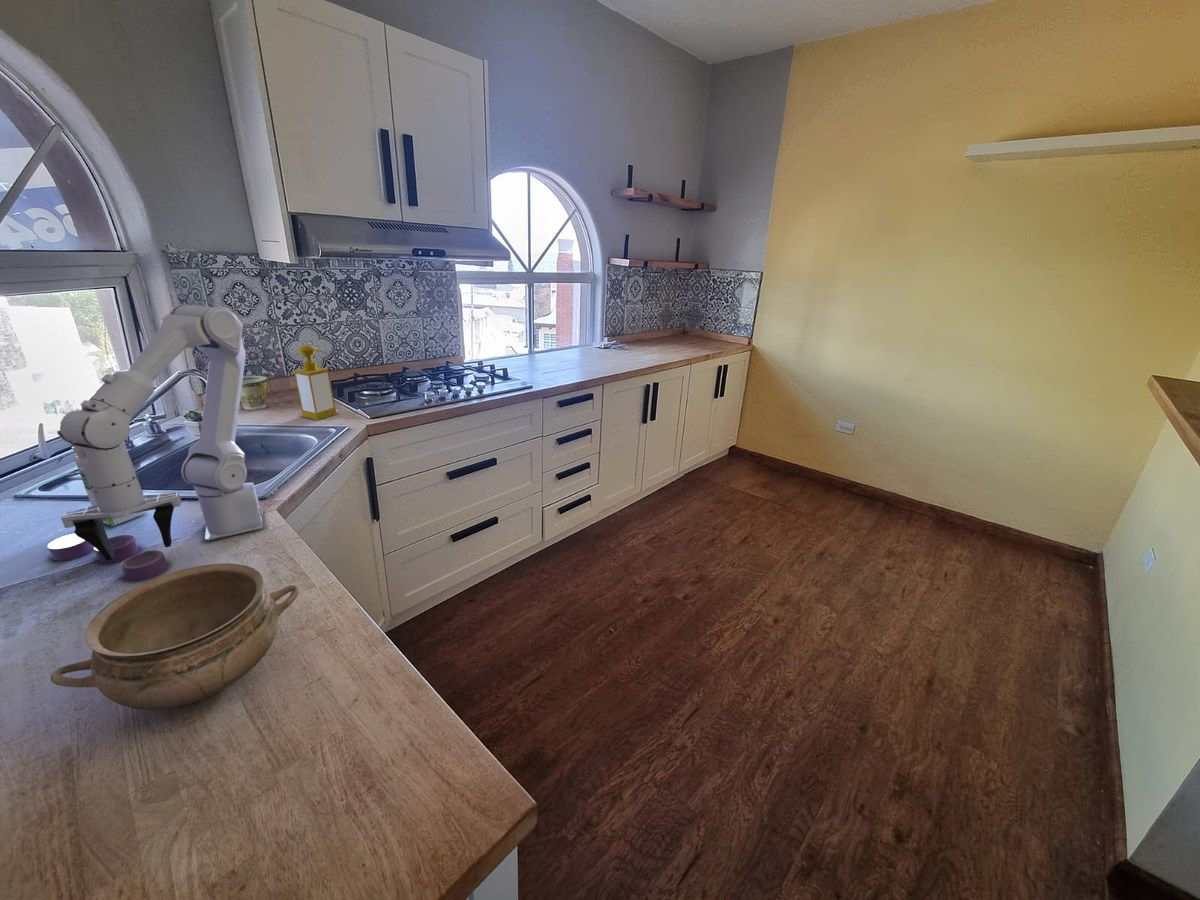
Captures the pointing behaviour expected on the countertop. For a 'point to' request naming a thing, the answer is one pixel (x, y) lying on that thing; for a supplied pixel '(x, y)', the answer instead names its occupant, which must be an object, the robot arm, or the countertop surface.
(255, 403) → the ceramic cup
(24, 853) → the countertop surface
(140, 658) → the cooking pot
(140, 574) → the dish middle
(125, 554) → the dish bottom
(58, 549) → the dish top
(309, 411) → the soap bottle
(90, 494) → the syrup box
